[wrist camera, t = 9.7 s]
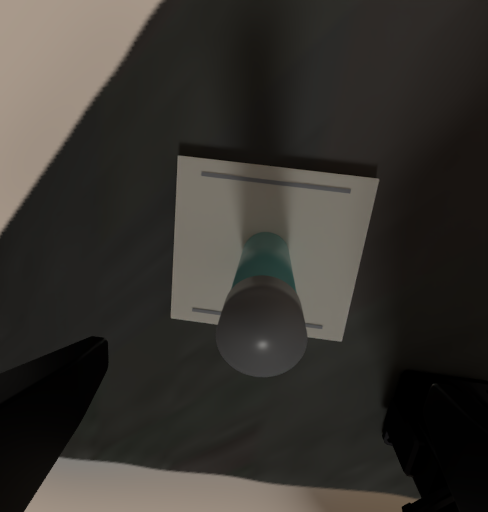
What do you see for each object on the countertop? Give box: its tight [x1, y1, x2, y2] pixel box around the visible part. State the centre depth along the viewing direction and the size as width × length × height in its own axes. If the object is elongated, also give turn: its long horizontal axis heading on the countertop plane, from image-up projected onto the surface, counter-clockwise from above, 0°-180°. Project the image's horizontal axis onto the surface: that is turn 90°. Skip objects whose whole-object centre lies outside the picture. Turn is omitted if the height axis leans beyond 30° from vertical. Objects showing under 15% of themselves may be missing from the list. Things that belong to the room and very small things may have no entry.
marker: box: [216, 232, 307, 377], centre depth 16 cm, size 3×3×10 cm
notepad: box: [171, 156, 379, 342], centre depth 21 cm, size 12×11×1 cm
